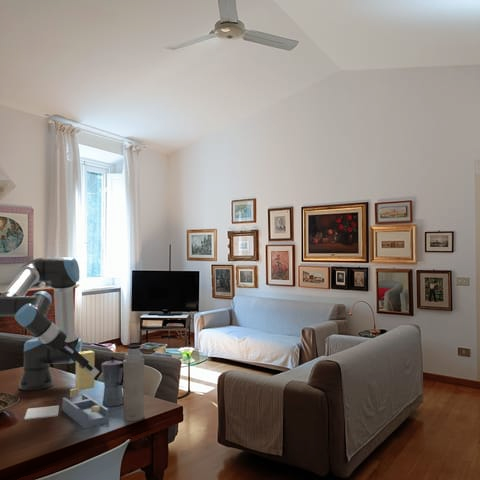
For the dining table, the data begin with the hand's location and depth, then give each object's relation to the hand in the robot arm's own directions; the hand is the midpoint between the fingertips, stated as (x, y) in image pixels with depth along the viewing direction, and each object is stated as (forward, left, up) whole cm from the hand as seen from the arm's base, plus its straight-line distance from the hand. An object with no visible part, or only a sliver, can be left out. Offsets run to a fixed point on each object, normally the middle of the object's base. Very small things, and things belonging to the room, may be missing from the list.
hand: (94, 372), depth 174 cm
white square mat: (-9, -19, -16) cm, 27 cm away
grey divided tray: (+1, -3, -16) cm, 17 cm away
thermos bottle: (+9, +15, -17) cm, 24 cm away
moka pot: (-10, +8, -17) cm, 21 cm away
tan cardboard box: (+1, -4, -5) cm, 6 cm away
